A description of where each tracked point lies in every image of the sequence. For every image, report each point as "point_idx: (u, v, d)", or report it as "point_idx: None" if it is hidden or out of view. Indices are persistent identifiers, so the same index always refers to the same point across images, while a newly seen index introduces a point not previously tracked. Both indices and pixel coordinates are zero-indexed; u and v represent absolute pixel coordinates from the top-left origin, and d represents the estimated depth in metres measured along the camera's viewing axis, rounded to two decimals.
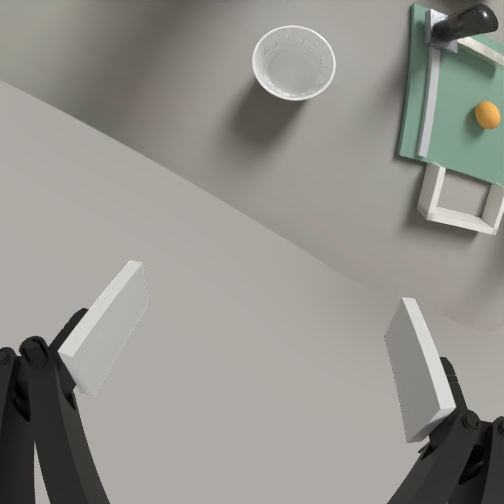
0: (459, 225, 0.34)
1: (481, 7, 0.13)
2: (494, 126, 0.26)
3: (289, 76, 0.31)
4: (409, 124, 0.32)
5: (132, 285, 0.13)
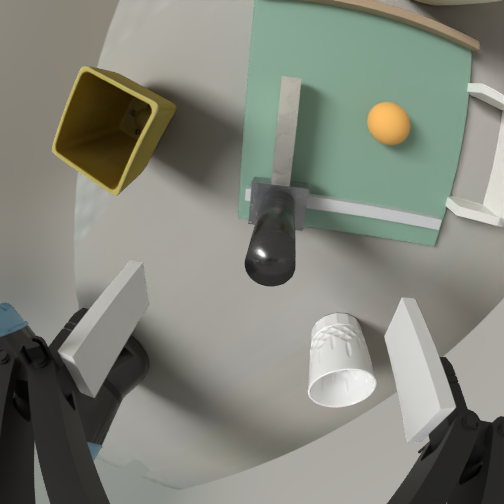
0: None
1: (253, 273, 0.18)
2: (408, 123, 0.21)
3: None
4: (403, 235, 0.29)
5: (133, 286, 0.13)
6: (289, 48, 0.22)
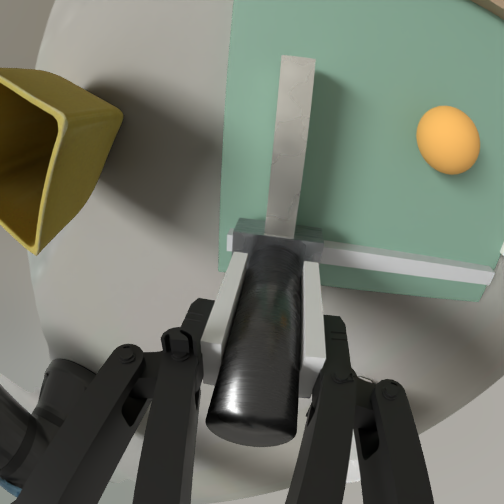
0: None
1: (223, 433, 0.09)
2: (479, 142, 0.11)
3: None
4: (444, 292, 0.20)
5: (243, 275, 0.15)
6: (294, 16, 0.13)
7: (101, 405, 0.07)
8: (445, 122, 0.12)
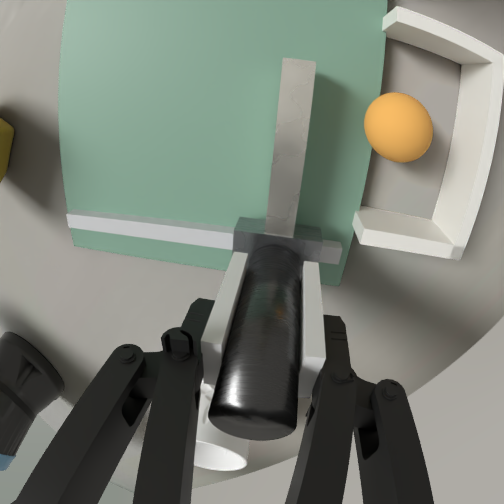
0: (486, 174, 0.13)
1: (224, 427, 0.09)
2: (378, 113, 0.13)
3: None
4: None
5: (243, 275, 0.15)
6: (96, 32, 0.14)
7: (101, 405, 0.07)
8: None
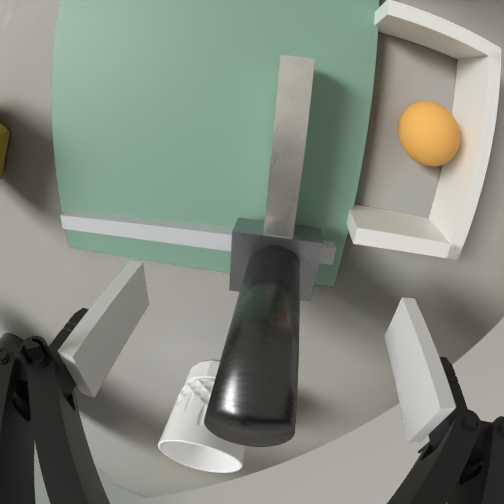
0: (483, 171, 0.13)
1: (221, 433, 0.09)
2: (458, 135, 0.13)
3: None
4: None
5: (132, 285, 0.13)
6: (87, 33, 0.14)
7: None
8: (422, 115, 0.13)
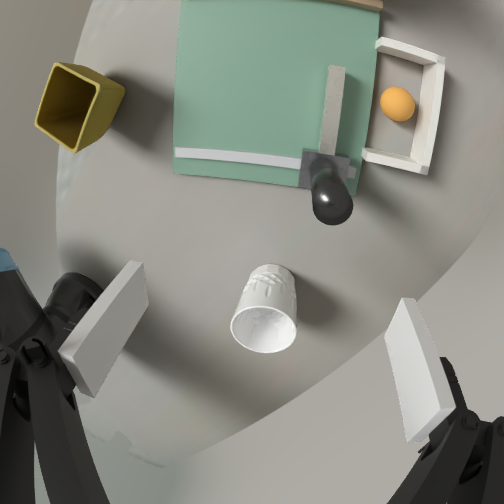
0: (436, 124, 0.25)
1: (319, 213, 0.21)
2: (407, 101, 0.25)
3: None
4: None
5: (132, 285, 0.13)
6: (207, 34, 0.26)
7: None
8: (386, 92, 0.26)
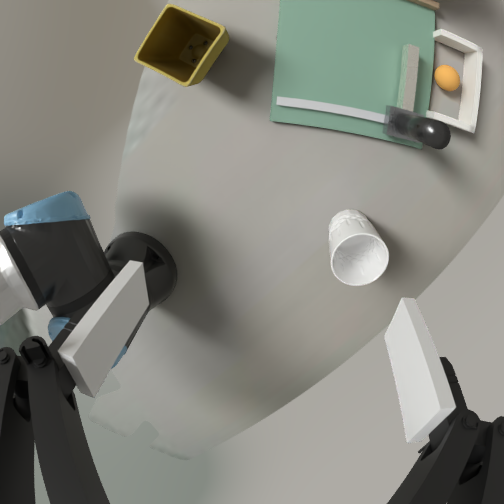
0: (478, 95, 0.28)
1: (430, 138, 0.24)
2: (452, 74, 0.27)
3: (355, 236, 0.44)
4: (395, 137, 0.36)
5: (132, 285, 0.13)
6: (306, 7, 0.29)
7: None
8: (437, 68, 0.29)
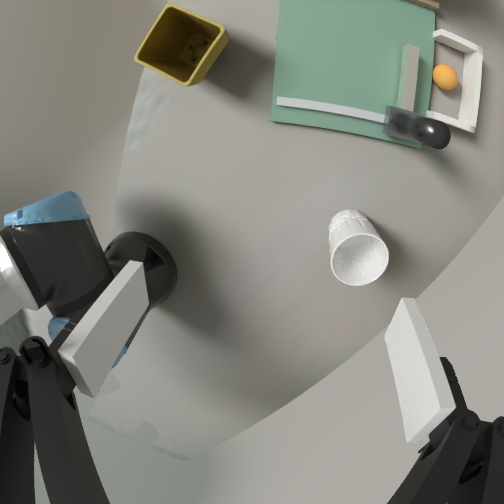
0: (478, 95, 0.28)
1: (430, 138, 0.24)
2: (448, 72, 0.28)
3: (355, 236, 0.44)
4: (395, 137, 0.36)
5: (132, 285, 0.13)
6: (306, 7, 0.29)
7: None
8: (435, 67, 0.29)
